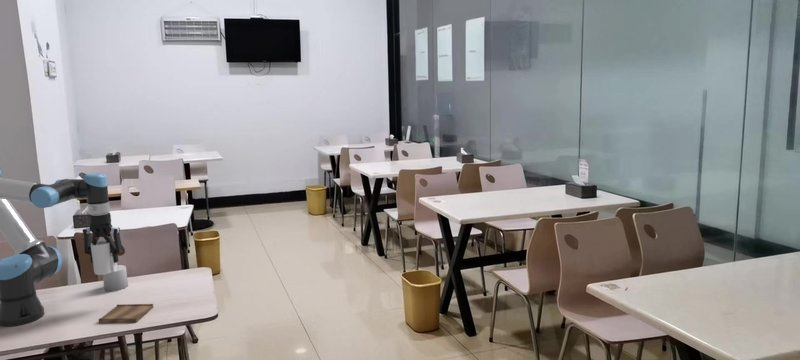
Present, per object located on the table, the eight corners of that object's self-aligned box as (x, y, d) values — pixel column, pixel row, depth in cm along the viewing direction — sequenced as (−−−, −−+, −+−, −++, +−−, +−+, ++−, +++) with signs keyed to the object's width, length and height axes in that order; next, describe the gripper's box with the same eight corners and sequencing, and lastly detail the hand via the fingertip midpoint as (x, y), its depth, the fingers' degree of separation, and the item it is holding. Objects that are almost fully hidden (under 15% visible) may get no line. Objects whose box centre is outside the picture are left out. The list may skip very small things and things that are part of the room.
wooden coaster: (99, 323, 214) (98, 319, 213) (117, 308, 228) (117, 304, 227) (136, 322, 213) (136, 318, 213) (153, 307, 227) (152, 303, 227)
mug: (104, 275, 224) (101, 245, 221) (89, 274, 225) (86, 244, 223) (122, 267, 233) (119, 238, 231) (108, 266, 235) (105, 237, 233)
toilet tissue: (125, 280, 261) (123, 261, 259) (129, 288, 249) (127, 269, 248) (102, 284, 256) (100, 265, 254) (105, 293, 245) (103, 273, 243)
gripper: (69, 215, 222) (76, 273, 226) (119, 215, 221) (125, 273, 225) (80, 211, 229) (86, 267, 233) (128, 210, 229) (134, 267, 233)
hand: (105, 270), depth 229 cm, fingers closed on mug, 6 cm apart
